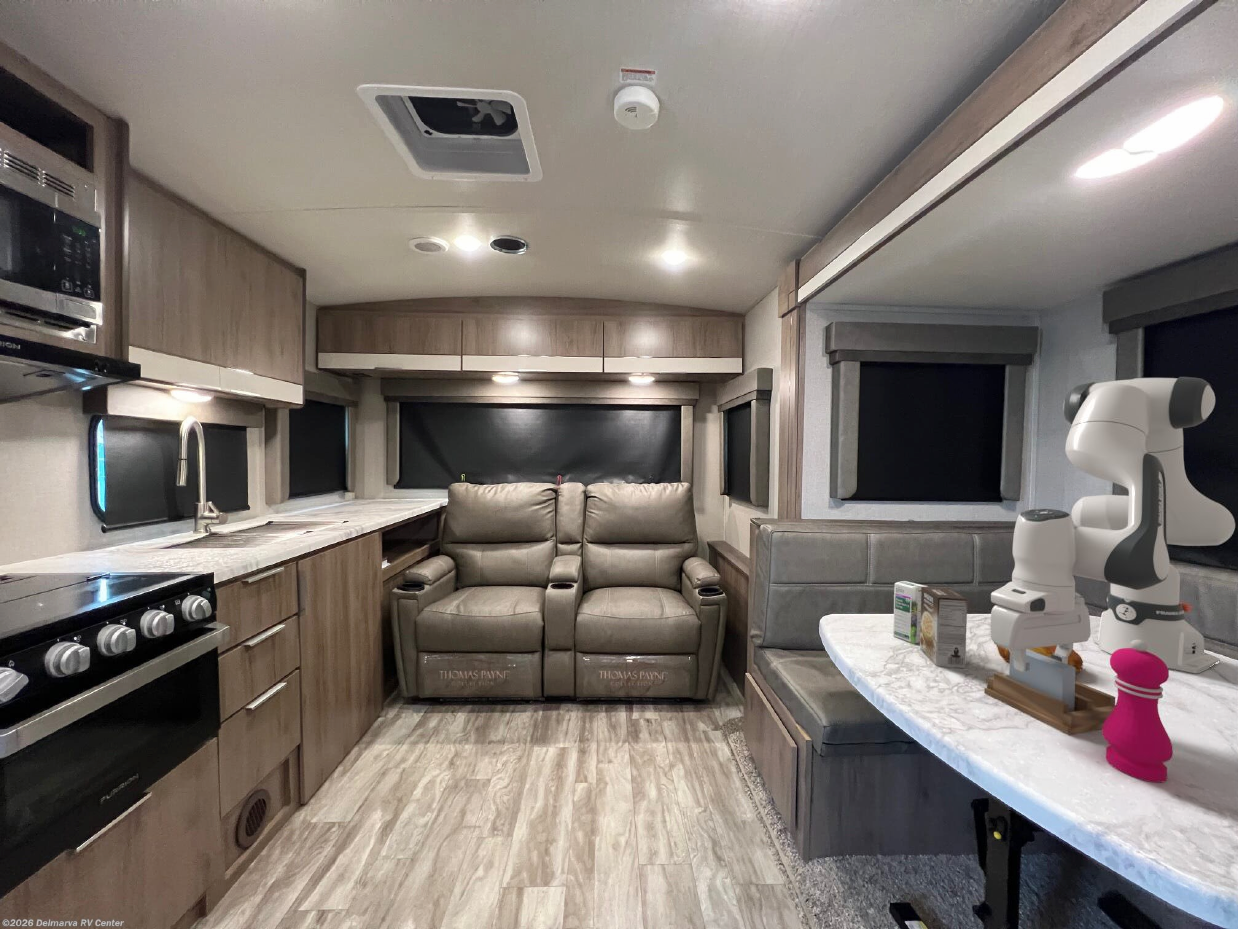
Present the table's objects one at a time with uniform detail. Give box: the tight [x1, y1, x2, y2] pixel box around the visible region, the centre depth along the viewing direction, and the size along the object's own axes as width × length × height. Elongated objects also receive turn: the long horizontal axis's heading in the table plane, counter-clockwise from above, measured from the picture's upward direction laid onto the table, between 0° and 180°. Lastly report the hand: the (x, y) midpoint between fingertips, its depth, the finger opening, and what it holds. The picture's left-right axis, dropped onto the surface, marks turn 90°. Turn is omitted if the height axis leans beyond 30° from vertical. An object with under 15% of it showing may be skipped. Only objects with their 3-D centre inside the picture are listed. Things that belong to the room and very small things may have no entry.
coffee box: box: [919, 586, 968, 669], centre depth 109 cm, size 9×6×16 cm
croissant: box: [996, 645, 1084, 675], centre depth 107 cm, size 14×16×8 cm
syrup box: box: [892, 580, 928, 644], centre depth 121 cm, size 6×6×14 cm
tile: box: [1008, 649, 1076, 713], centre depth 87 cm, size 3×9×9 cm, turn 13°
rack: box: [983, 672, 1116, 736], centre depth 88 cm, size 14×14×4 cm
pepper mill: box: [1101, 640, 1174, 783], centre depth 71 cm, size 7×7×20 cm
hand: (1040, 667), depth 87 cm, fingers open, 8 cm apart
